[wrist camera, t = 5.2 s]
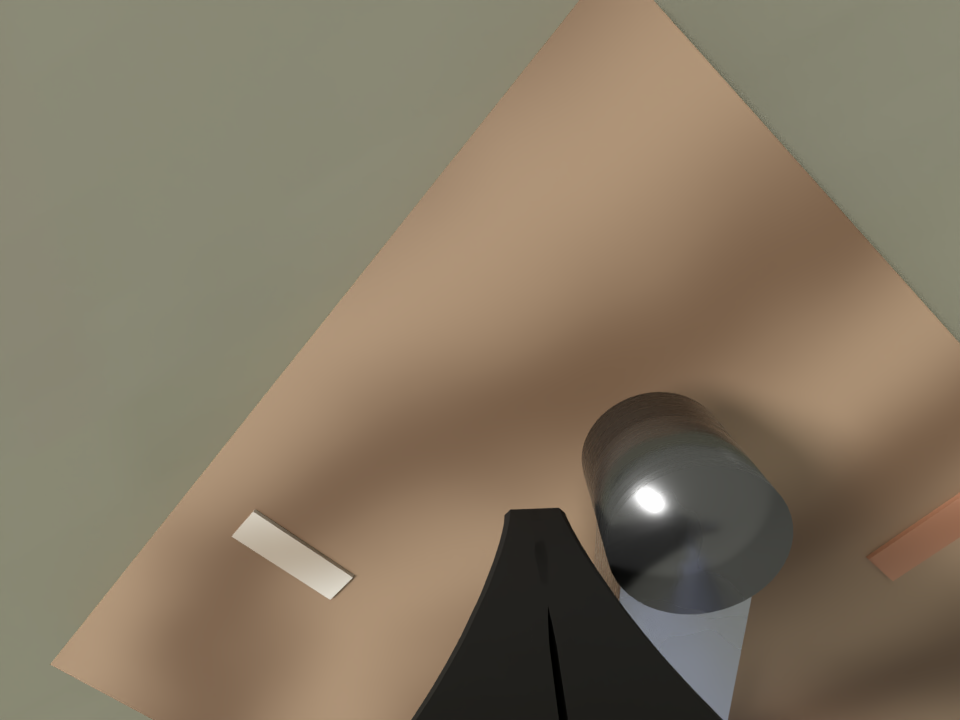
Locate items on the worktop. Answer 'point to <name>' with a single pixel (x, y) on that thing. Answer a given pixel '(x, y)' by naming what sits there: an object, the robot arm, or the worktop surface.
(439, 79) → the worktop surface
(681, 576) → the grey lever with knob
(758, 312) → the post board
